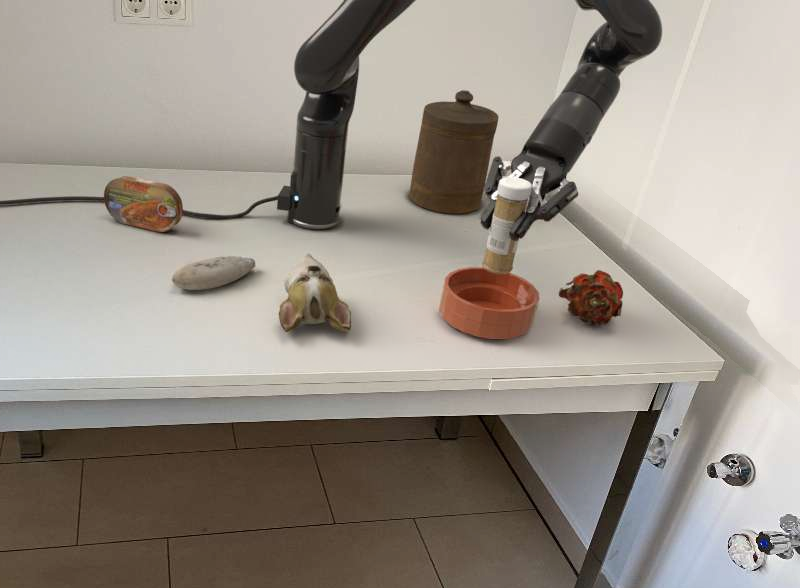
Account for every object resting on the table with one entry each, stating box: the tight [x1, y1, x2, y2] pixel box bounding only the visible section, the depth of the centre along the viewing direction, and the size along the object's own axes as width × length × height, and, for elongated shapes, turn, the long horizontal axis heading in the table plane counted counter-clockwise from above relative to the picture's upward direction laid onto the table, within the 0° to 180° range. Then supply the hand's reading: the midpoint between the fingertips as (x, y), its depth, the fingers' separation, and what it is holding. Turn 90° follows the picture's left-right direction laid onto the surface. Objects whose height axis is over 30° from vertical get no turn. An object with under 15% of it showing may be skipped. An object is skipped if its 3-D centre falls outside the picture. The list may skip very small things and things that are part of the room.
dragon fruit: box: [558, 269, 624, 326], centre depth 123 cm, size 8×8×12 cm
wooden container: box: [408, 89, 500, 215], centre depth 157 cm, size 15×15×22 cm
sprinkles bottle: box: [481, 176, 532, 274], centre depth 114 cm, size 5×5×14 cm
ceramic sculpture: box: [278, 252, 352, 333], centre depth 117 cm, size 11×9×15 cm
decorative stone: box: [171, 255, 256, 291], centre depth 126 cm, size 6×16×3 cm, turn 130°
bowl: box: [438, 266, 540, 340], centre depth 121 cm, size 14×14×6 cm
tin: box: [103, 175, 184, 233], centre depth 140 cm, size 15×3×8 cm, turn 68°
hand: (498, 231), depth 113 cm, fingers closed on sprinkles bottle, 4 cm apart
